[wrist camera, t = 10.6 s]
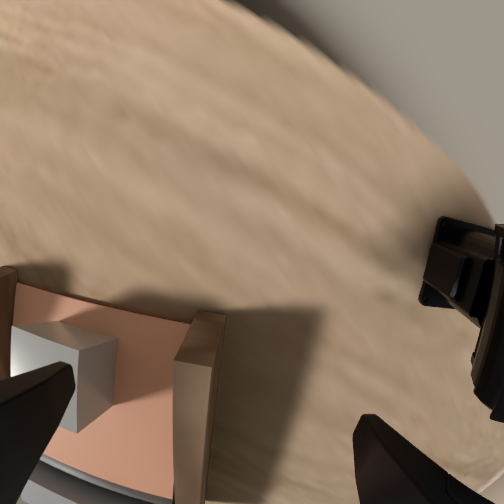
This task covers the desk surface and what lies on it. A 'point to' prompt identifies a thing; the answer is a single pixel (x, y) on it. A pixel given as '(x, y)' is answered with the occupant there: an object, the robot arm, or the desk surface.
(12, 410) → the robot arm
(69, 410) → the gray cube
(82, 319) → the trapdoor
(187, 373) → the frame
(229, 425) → the desk surface
